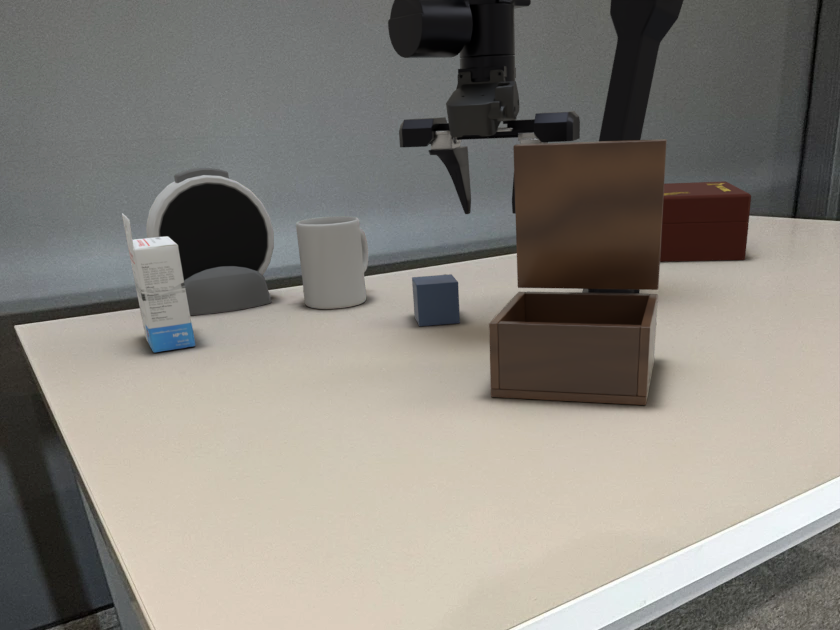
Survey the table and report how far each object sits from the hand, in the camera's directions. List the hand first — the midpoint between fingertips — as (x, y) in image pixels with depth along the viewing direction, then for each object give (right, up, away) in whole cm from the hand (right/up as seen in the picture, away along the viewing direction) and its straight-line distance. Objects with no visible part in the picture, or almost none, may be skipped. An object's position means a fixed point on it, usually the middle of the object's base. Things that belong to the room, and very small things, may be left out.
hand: (491, 213), depth 88 cm
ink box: (-38, -14, +6) cm, 41 cm away
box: (+35, +8, +47) cm, 59 cm away
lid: (+8, -5, -14) cm, 17 cm away
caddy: (+7, -20, -13) cm, 25 cm away
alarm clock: (-37, -6, +24) cm, 44 cm away
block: (-6, -10, +10) cm, 16 cm away
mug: (-19, -5, +23) cm, 31 cm away
